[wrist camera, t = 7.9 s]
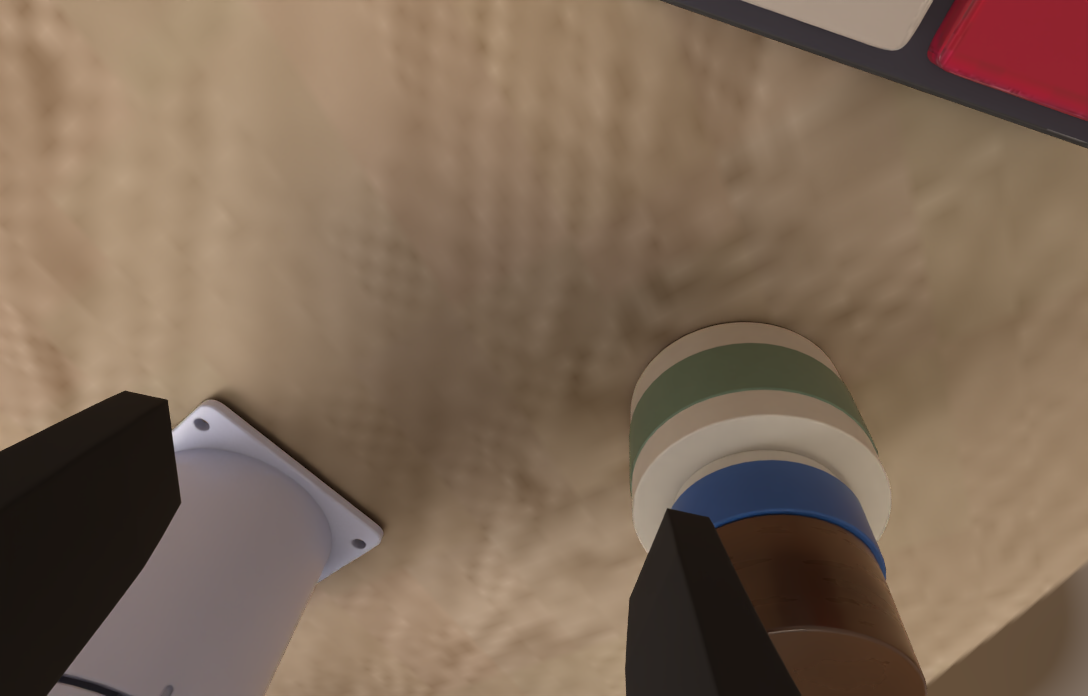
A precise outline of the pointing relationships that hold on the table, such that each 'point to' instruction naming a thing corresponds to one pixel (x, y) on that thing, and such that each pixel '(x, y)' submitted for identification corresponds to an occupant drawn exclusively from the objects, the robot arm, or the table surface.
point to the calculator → (944, 49)
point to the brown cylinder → (824, 606)
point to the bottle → (752, 435)
